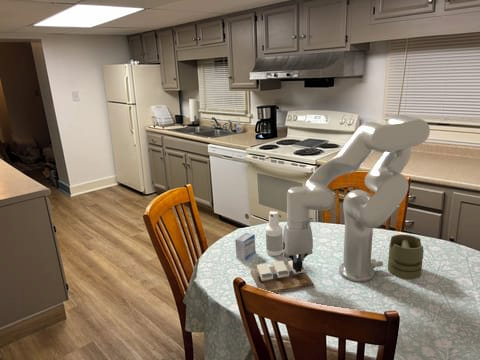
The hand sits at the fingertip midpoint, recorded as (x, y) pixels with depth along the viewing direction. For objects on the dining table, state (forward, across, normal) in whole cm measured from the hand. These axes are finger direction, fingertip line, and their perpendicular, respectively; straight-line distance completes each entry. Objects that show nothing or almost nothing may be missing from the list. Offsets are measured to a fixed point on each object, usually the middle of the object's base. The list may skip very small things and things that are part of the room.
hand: (297, 270), depth 131 cm
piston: (+4, -40, +5) cm, 40 cm away
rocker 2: (0, -1, -3) cm, 3 cm away
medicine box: (+5, +13, -24) cm, 28 cm away
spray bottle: (+5, +1, -23) cm, 24 cm away
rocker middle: (0, +5, -3) cm, 6 cm away
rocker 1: (+1, +11, -3) cm, 12 cm away
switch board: (+5, +5, -3) cm, 8 cm away
